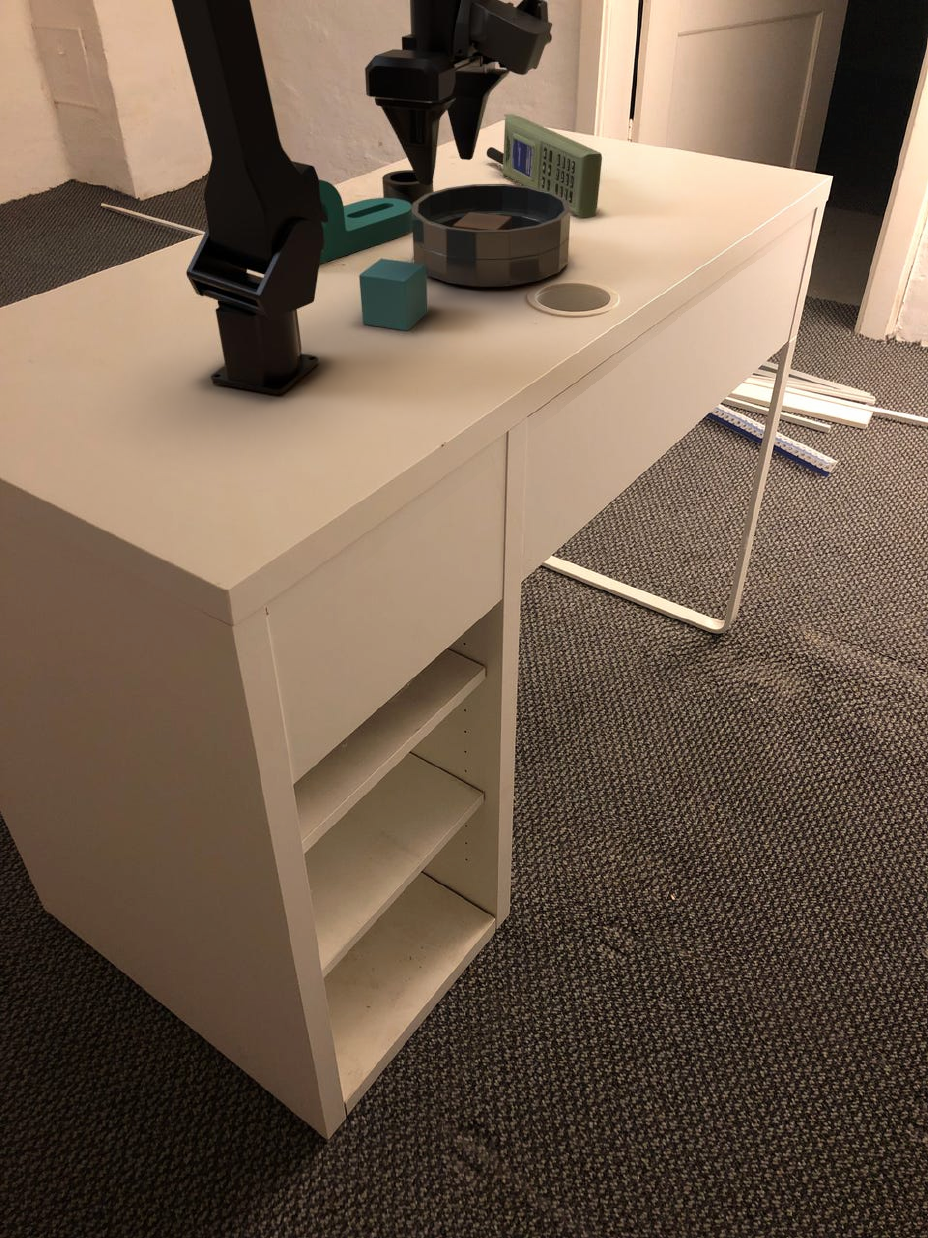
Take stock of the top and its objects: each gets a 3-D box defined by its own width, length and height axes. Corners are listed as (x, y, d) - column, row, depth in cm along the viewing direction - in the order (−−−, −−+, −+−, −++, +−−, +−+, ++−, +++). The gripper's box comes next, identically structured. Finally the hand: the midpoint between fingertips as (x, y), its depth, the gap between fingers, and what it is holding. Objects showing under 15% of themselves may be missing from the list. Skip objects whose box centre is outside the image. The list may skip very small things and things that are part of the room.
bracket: (296, 272, 98) (286, 188, 93) (254, 256, 102) (242, 175, 97) (425, 227, 108) (422, 150, 103) (383, 214, 112) (378, 139, 107)
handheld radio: (575, 219, 110) (477, 164, 128) (600, 216, 111) (500, 161, 129) (581, 154, 106) (479, 106, 123) (607, 151, 107) (503, 104, 125)
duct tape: (355, 208, 114) (352, 181, 112) (411, 187, 120) (410, 161, 118) (405, 220, 110) (404, 193, 108) (461, 198, 116) (461, 172, 114)
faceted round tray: (538, 300, 92) (540, 239, 88) (389, 279, 96) (385, 221, 93) (585, 247, 103) (588, 191, 99) (449, 231, 107) (448, 177, 104)
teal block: (407, 331, 87) (405, 281, 84) (362, 324, 88) (358, 274, 85) (427, 312, 90) (426, 263, 87) (384, 306, 91) (381, 257, 88)
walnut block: (495, 277, 95) (496, 230, 92) (453, 271, 96) (452, 225, 94) (511, 262, 98) (512, 216, 95) (470, 256, 100) (469, 211, 97)
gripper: (499, -25, 69) (495, 210, 79) (577, -47, 83) (565, 155, 92) (356, -31, 72) (368, 195, 82) (453, -51, 86) (454, 144, 95)
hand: (446, 171), depth 88 cm, fingers open, 9 cm apart
